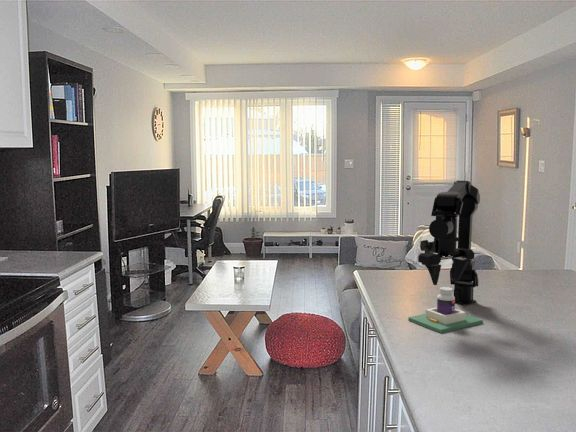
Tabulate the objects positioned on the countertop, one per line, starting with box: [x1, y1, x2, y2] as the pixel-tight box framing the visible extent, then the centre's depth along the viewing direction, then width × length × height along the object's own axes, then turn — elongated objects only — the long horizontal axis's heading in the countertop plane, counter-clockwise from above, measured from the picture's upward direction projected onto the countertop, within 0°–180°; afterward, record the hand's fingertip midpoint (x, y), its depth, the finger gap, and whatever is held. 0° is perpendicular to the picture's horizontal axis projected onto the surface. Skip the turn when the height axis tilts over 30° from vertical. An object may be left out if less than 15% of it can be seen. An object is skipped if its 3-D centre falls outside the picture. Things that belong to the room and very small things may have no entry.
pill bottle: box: [436, 286, 456, 315], centre depth 171 cm, size 5×5×10 cm
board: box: [407, 306, 484, 334], centre depth 171 cm, size 18×14×4 cm
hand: (445, 283), depth 170 cm, fingers open, 9 cm apart
